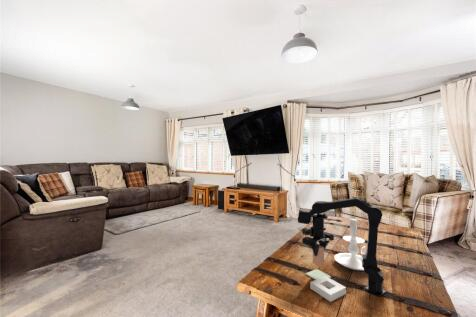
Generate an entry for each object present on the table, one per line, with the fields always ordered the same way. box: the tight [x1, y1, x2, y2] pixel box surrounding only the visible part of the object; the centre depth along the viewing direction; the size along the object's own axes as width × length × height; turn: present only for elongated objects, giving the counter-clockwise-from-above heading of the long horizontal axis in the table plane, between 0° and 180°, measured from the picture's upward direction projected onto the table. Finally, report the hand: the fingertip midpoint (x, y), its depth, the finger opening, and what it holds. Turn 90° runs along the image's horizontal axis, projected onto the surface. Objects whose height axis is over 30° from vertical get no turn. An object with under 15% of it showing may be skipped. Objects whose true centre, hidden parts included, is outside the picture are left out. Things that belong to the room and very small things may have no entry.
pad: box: [305, 268, 332, 280], centre depth 111 cm, size 9×9×1 cm
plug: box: [312, 245, 325, 267], centre depth 111 cm, size 4×4×9 cm
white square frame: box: [309, 276, 347, 303], centre depth 98 cm, size 11×11×3 cm
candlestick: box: [333, 217, 367, 271], centre depth 123 cm, size 21×25×28 cm
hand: (318, 254), depth 111 cm, fingers closed on plug, 4 cm apart
